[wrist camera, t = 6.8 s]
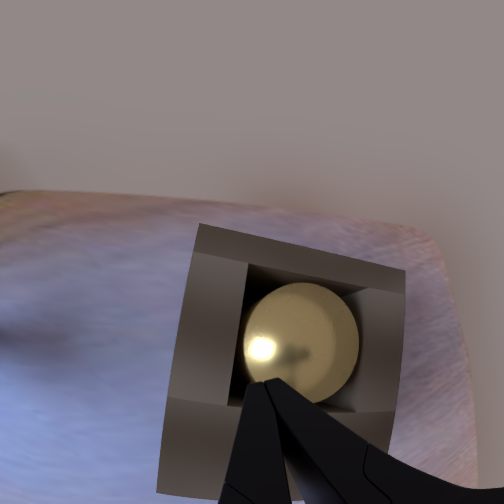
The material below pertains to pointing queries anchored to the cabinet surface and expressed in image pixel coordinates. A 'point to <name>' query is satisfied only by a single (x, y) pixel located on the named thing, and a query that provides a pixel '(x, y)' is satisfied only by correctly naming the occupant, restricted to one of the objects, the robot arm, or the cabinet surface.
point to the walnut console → (224, 343)
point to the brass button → (297, 340)
